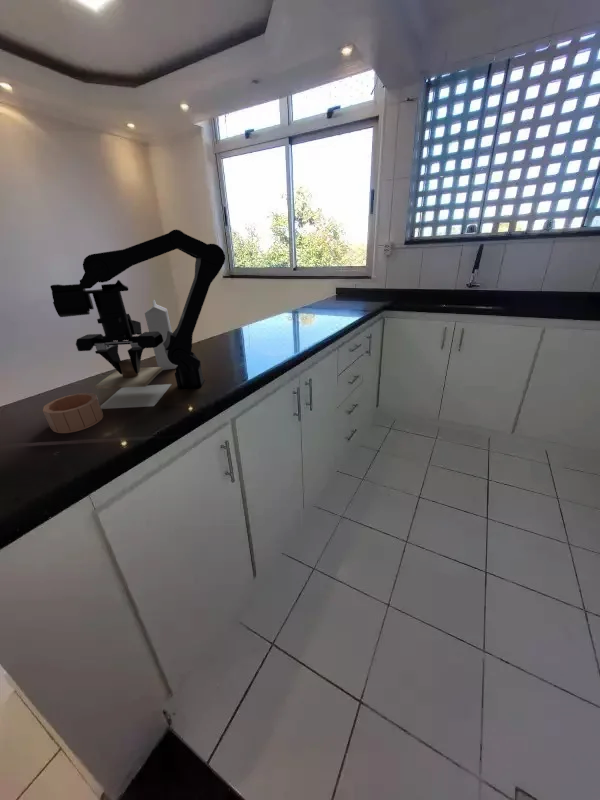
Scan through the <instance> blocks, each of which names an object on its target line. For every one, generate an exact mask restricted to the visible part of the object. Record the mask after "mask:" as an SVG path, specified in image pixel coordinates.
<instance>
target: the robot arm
mask: <svg viewBox="0 0 600 800" xmlns="http://www.w3.org/2000/svg"><path fill="white" fill-rule="evenodd" d="M174 250H178V251H181V252H183V253H185V254H186V255H188V256H190V257H191V258H194V259H195V264H194V277H193V280H192V284H191V286H190V290H189V293H188V295H187V297H186V301H185V304H184V307H183V309H182V312H181V315H180V318H179V321H178V324H177V327H176V328H175V330H173V331H172V332H170V331H168V332H167V338H166V341H165V342H164V343H163V345H164V347H165V353H166V355H167V357H168V359H169V361H170V362H171V363H172V364H175V365H178V366H177V367H176V368H175V369H174V370H175V372H174V377H175V381H176V385H177V387H178V388H177V391H178V390H179V391H181V390H196V389H201V388H202V387H203V385H204V384H205V382H206V379H204V374H203V369H202V366H201V361H200V359H199V357H198V356H197V355H196V354H195V353H194V352H193V351H192V350H193V349H192V348H193V336H194V331H195V329H196V326H197V323H198V320H199V317H200V314H201V311H202V308H203V306H204V303H205V300H206V299H207V294H208V293H209V289H210V286H211V284H212V282H213V281H214V280H215V278H216V277H217V276H218V275H219V273H220V271H221V270H222V268H223V265H224V264H225V262H226V254H225V252H224V250H223V248H221V246H220V245H218V244H215V243H206V242H204V241H202V240H200V239H197V238H195V237H193V236H191V235H188V234H186V233H185V232H183V231H182V230H180V229H172V230H171V231H169V232H168V233H165V234H163V235H160V236H156V237H154V238H152V239H148V240H146V241H143V242H139V243H137V244H134V245H132V246H129V247H125V248H123V249H118V250H112V251H111V250H110V251H105V252H99V253H91V254H89V255H87V256H86V257H85V258H84V259H83V262H82V268H83V272H84V274H83V276H82V278H81V279H79V283H75V284H51V285H50V286H49V287H50V290H51V295H52V301H53V302H52V303H53V307H54V309H55V311H56V313H57V315H58V316H59V318H67V317H77V316H86V315H90V314H91V313H90V311H91V310H94V309H95V308H94V304H95V306H96V310H97V314H98V315H99V316H98V317H99V318H97V319H96V320H97V324H101V326H102V330H103V333H104V335H103V334H102V333H93V334H92V333H89V334H86V335H83V336H81V337H79V338H77V339H76V341H75V346H76V349H77V352H88V351H89V352H91V351H92V350H93V348H94V347H95V348H96V350H95V352H94V353H95V354H98V355H101V356H102V358H104V359H105V360H106V361H107V362H108V363H109V364H110V365H111V366H112V367H113V368H114V369H115V371H116V370H117V371H118V372H119V373H120V374H122V372H121V369H120V365H119V361H121V360H122V359H121V357H120V355H119V346H120V345H121V346H122V345H130V346H131V348H129V349H127V353H128V356H129V359H131V362H132V365H133V368H134V370H135V372H136V374H138V373H139V371H140V368H141V362H142V361H141V359H142V355H143V352H144V350H145V349H153V348H154V347H157V346H158V345H160V344H161V343H162V342H163V337H162V335H161V334H160V333H159V332H158V331H156V332H149V331H144V332H142V324H141V321H137V320H134V319H133V320H132V318H131V315H130V313H127V311H126V308H125V307H126V306H125V303H124V300H123V297H122V293H121V292H129V287H128V286H127V285H125V284H124V283H122V281H121V280H120V279H117V281H116V282H115V283H110V284H109V283H108V284H106V283H107V282H109V281H111V280H112V279H114V278H115V277H117V276H119V275H120V274H121V273H123V272H125V271H126V270H127V269H129V268H131V267H132V266H135V265H138V264H140V263H144V262H146V261H148V260H150V259H153V258H156V257H159V256H161V255H165V254H167V253H169V252H172V251H174ZM97 283H105V284H101V288H100V289H99V288H98V289H92V288H93V287H94V286H95V285H97ZM86 289H87V290H86ZM88 289H89V290H88ZM90 294H91V295H92V296H93V299H92V298H91V295H90ZM93 300H94V304H93Z"/></svg>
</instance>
